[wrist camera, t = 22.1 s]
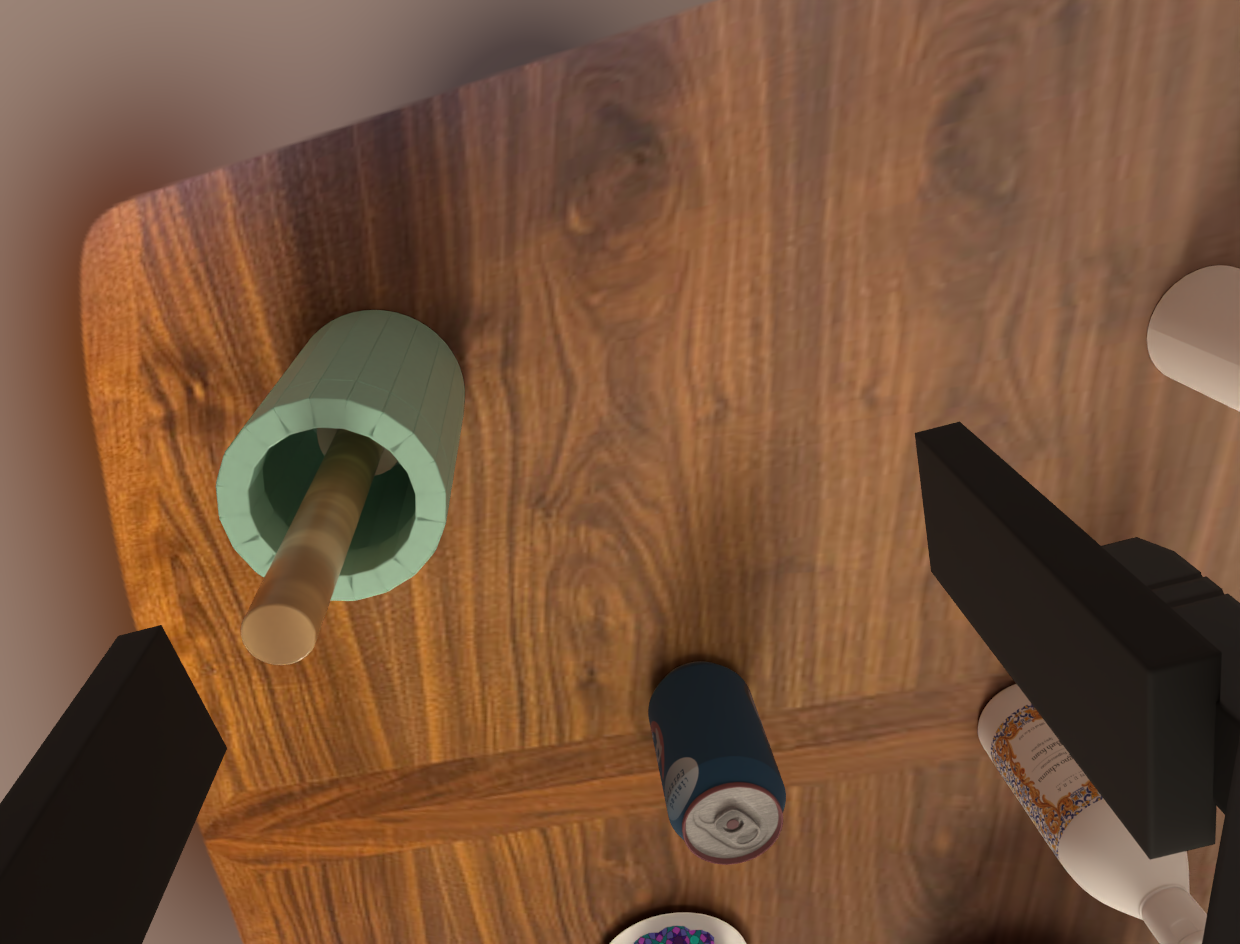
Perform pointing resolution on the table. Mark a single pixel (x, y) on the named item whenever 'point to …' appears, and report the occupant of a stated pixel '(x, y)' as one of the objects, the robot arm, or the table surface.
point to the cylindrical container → (1200, 333)
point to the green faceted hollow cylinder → (368, 405)
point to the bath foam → (1086, 823)
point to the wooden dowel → (313, 549)
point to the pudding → (680, 930)
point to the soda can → (716, 764)
